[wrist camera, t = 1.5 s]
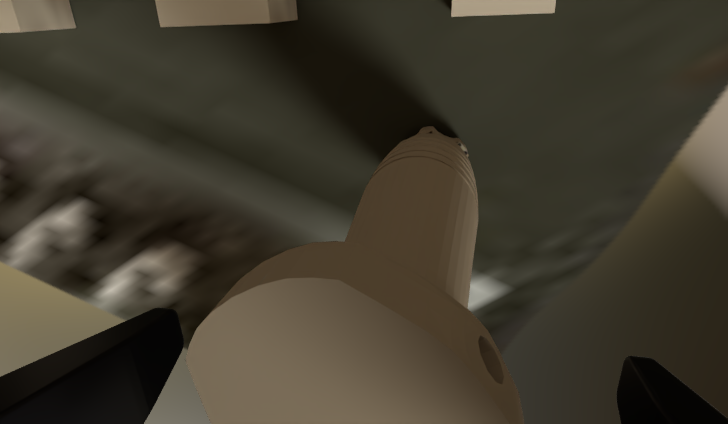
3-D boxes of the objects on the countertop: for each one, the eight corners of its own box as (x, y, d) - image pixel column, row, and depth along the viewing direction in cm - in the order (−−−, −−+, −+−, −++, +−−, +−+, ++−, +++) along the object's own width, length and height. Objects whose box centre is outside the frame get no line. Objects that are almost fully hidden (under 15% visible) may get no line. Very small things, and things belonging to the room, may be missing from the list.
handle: (439, 66, 19) (361, 222, 6) (518, 191, 21) (597, 542, 7) (349, 129, 21) (134, 353, 8) (426, 239, 23) (356, 586, 9)
